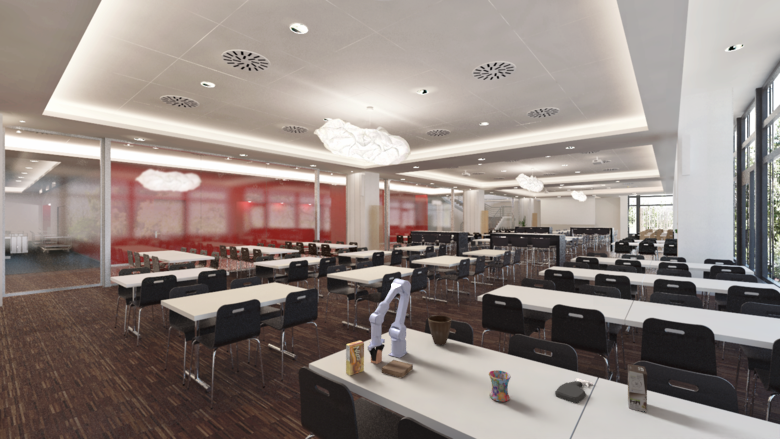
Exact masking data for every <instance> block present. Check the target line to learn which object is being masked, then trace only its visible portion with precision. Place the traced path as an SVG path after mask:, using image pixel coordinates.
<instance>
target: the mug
mask: <svg viewBox="0 0 780 439" xmlns="http://www.w3.org/2000/svg"><path fill="white" fill-rule="evenodd" d="M488 376H489V379H490V382H491V390H490V392H489V397H490V398H491V399H492V400H493V401H496V402H500V403H501V402H502V403H504V402H509V400H510V395H509V392H508V385H509V382H510V380H511V378H512V377H511V374H510V373H509V372H507V371H504V370H501V369H500V370H498V369H495V370H491V371H489V372H488Z"/></svg>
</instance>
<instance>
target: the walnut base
mask: <svg viewBox="0 0 780 439" xmlns="http://www.w3.org/2000/svg"><path fill="white" fill-rule="evenodd" d="M412 370H414V364H412V363H407V362H404V361H399V360H397V359H393V360H391V361H389V362H387V364H385V365H384V366H382V367H381V373H382V374H385V375H389V376H393V377H396V378H400V379H402V378H404V377H405V376H406V375H408V374H409V373H410V372H411V371H412Z"/></svg>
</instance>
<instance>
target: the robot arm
mask: <svg viewBox="0 0 780 439" xmlns="http://www.w3.org/2000/svg"><path fill="white" fill-rule="evenodd" d="M411 288H412V285H411V283H410V281H409V280H408V279H407V280H404V279H402V278H401V279H400V278H394V280H393V281H392V283H391V287H390V290H389V291H388V293H387V295H386V297H385V298H384V300H383V301H381V302H379V303H378V305H377V308H376V309H375V311H374V312H372V313H371V314H370V316H369V318H368V321H369V322H370V326H371V327H370V330H371V331H370V333H371V334H370V335H371V336H370V338H371V339H370V341H369V345H368V346H367V351H368V352H369V354H370V359H371V358H372V361H376V355H377V351H378V350H382V352H383V350H384V348H385V342H386V339H384V338H382V324H383V323H384V321H385V315H386V314H387V312H388V311H389V309H390V304H391V302H392V301H393V300H394V298H395V297H396V296H397V294H399V295H400V297H399V301H398V306H397V310H396V315H395V319H394V321H393V323H391V324H390V325H391V326H390V328H389V329H388V336H389V337H390V341H391V344H390V345H391V349H390V350H391V352H390V353H388V356H390V357H395V358H399V359H400V358H402V357H403V356H405V355H407V354H408V351H407V340H406V337H407V326H406V325H405V321H406V315H407V311H408V307H409V303H410V302H409V301H410V297H411Z"/></svg>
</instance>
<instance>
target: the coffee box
mask: <svg viewBox="0 0 780 439" xmlns="http://www.w3.org/2000/svg"><path fill="white" fill-rule="evenodd" d="M627 404H628V409H630V410H633V409H634V410H633V411H638V410H639V411H638V412H641V411H645V412H646V413H648V412H647V411H648V409H647V407H648V372H647V369H646V366H642V365H638V364H630V363H627ZM645 412H644V413H645Z"/></svg>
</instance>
